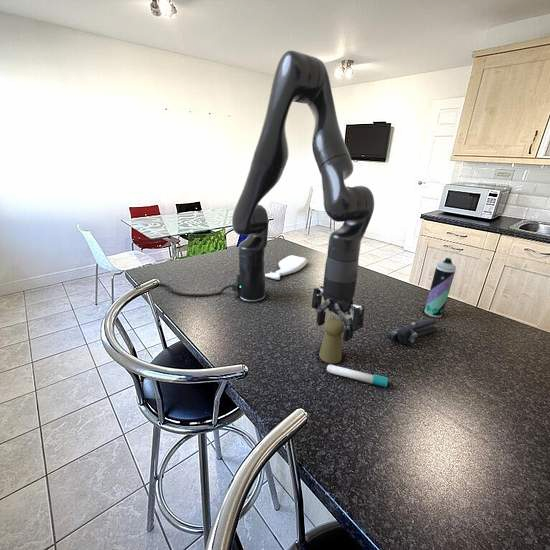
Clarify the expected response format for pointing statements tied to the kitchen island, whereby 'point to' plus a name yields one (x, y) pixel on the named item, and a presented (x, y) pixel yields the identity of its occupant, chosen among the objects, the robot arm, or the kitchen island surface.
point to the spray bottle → (288, 266)
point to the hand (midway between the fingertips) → (333, 332)
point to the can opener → (412, 331)
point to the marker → (358, 375)
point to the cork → (332, 341)
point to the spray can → (440, 288)
